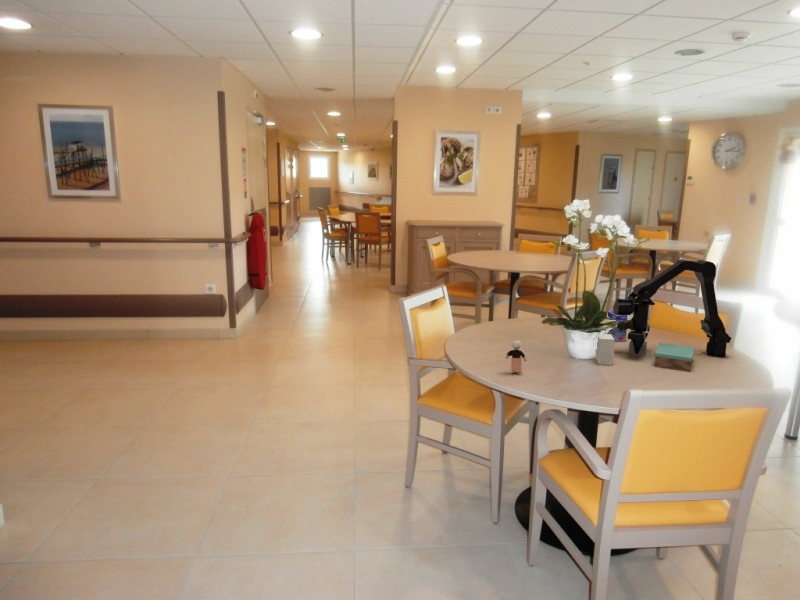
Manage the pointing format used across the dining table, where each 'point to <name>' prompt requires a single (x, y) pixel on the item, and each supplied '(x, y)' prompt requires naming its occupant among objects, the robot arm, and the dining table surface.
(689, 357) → the lid
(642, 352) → the block
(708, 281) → the robot arm
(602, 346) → the small box
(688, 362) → the storage box
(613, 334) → the ink cartridge box
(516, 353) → the grandmother figurine
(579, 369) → the dining table surface
